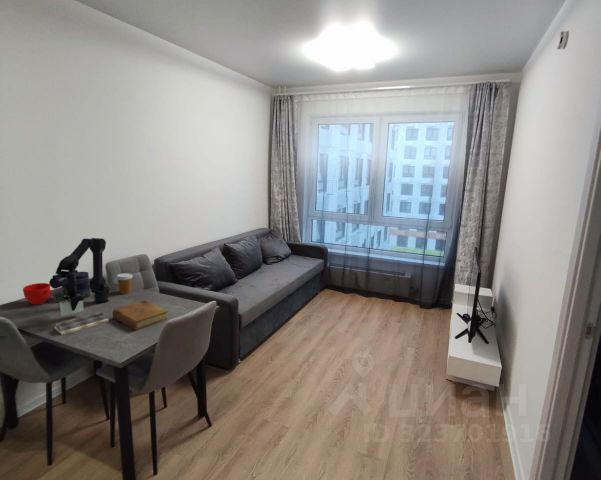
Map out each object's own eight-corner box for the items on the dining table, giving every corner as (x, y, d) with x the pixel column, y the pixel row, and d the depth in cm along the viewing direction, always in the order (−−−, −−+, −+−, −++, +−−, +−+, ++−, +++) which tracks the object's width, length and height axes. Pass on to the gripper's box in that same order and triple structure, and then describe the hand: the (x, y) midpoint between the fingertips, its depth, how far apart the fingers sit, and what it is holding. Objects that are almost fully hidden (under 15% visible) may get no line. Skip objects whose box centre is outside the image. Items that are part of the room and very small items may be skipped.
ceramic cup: (43, 308, 203) (41, 292, 201) (18, 305, 206) (16, 288, 204) (62, 300, 215) (60, 285, 213) (39, 297, 218) (37, 282, 216)
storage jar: (73, 294, 225) (71, 272, 222) (91, 293, 229) (89, 271, 226) (71, 300, 216) (68, 276, 213) (89, 298, 221) (87, 275, 218)
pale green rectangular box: (81, 309, 197) (80, 297, 196) (83, 310, 195) (82, 298, 194) (61, 314, 190) (59, 302, 188) (63, 315, 188) (61, 303, 186)
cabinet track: (100, 315, 197) (100, 310, 196) (108, 321, 191) (108, 316, 190) (55, 328, 180) (54, 323, 179) (62, 334, 174) (61, 329, 173)
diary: (113, 319, 194) (112, 309, 193) (144, 309, 209) (144, 300, 208) (135, 331, 181) (135, 321, 180) (167, 320, 196) (167, 310, 195)
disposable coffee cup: (120, 289, 237) (119, 272, 235) (135, 289, 239) (134, 272, 236) (115, 294, 228) (113, 277, 226) (130, 294, 229) (129, 277, 227)
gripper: (46, 281, 188) (49, 309, 192) (58, 290, 177) (61, 319, 180) (69, 277, 197) (72, 303, 200) (83, 285, 186) (85, 313, 189)
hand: (72, 309), depth 192 cm, fingers closed on pale green rectangular box, 3 cm apart
